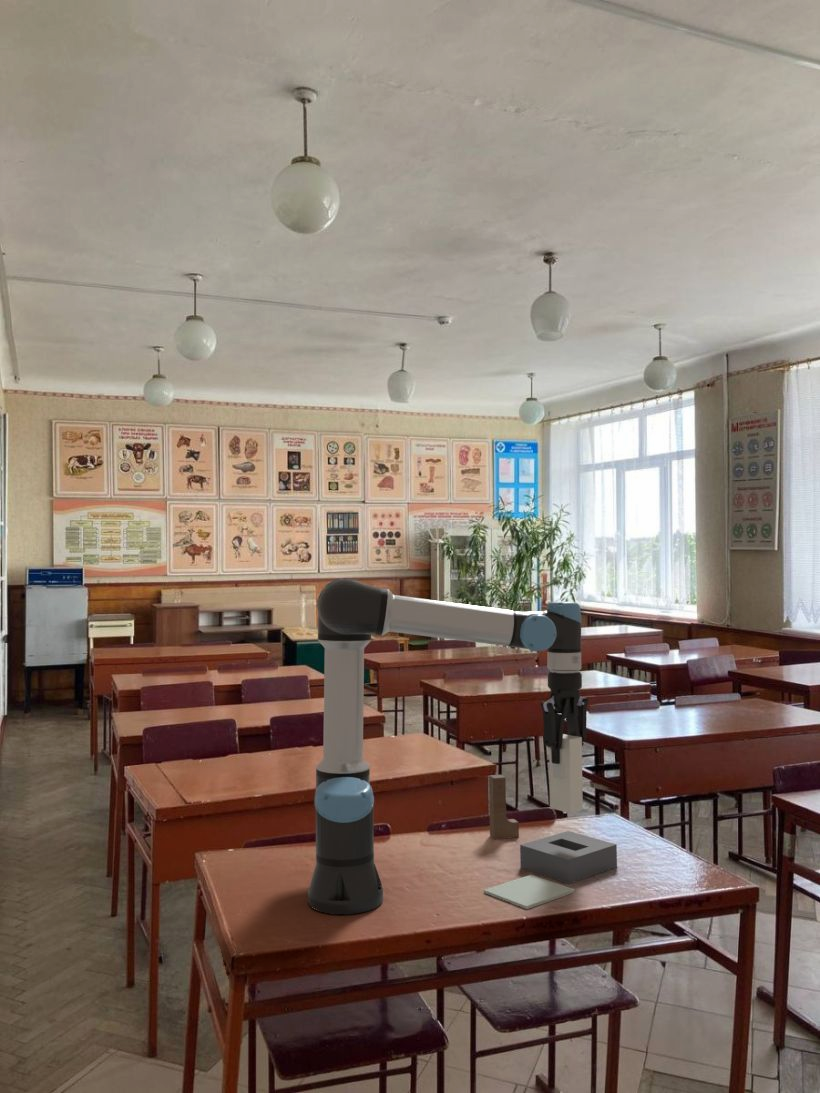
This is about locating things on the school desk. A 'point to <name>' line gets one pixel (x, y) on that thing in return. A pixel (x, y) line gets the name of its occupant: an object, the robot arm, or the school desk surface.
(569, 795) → the plug
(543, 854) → the socket block
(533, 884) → the mat
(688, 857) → the school desk surface
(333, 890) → the robot arm
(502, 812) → the wooden block
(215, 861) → the school desk surface
